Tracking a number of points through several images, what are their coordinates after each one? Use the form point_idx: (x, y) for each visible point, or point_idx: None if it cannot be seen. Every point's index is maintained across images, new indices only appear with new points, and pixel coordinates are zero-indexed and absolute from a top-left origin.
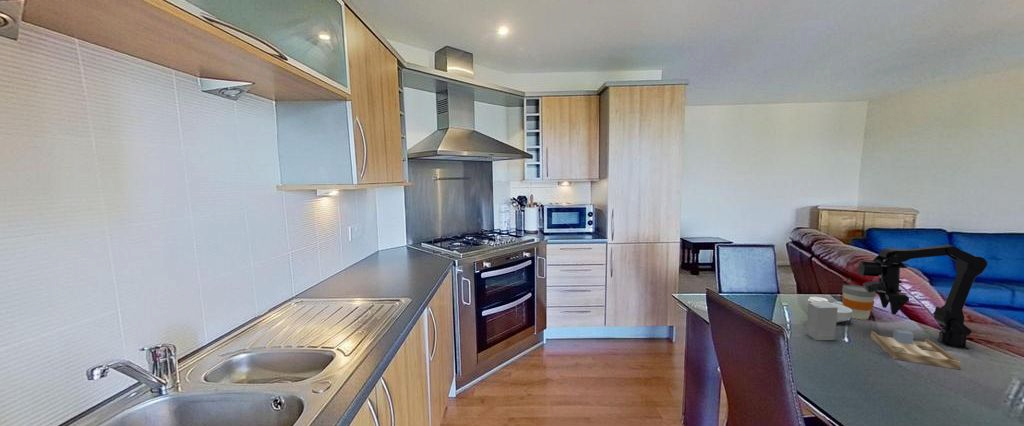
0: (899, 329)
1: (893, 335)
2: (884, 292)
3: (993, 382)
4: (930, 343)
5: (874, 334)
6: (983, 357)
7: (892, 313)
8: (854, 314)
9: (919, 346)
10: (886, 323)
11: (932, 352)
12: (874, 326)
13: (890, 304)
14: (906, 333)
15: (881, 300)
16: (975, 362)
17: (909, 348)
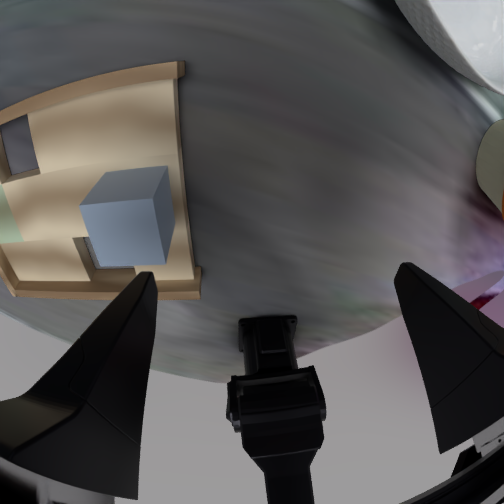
0: (147, 224)
1: (159, 173)
2: (492, 424)
3: (8, 302)
4: None
5: (115, 71)
6: (183, 352)
7: (137, 279)
8: (498, 139)
9: None
10: (442, 228)
11: (69, 261)
12: (407, 162)
13: (68, 376)
14: (90, 238)
15: (455, 313)
16: None
17: (51, 199)
